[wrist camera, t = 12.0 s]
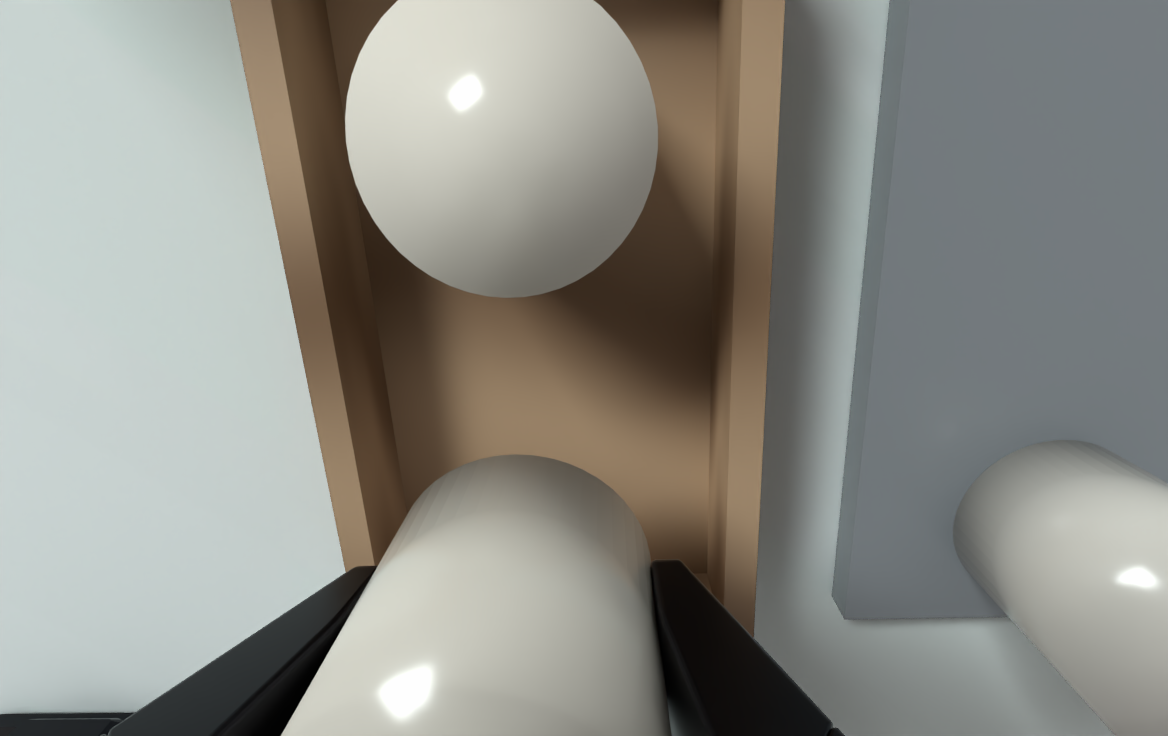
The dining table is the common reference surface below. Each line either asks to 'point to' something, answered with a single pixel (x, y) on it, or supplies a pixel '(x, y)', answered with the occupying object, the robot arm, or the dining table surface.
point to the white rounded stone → (1079, 571)
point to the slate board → (1002, 274)
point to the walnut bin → (543, 297)
